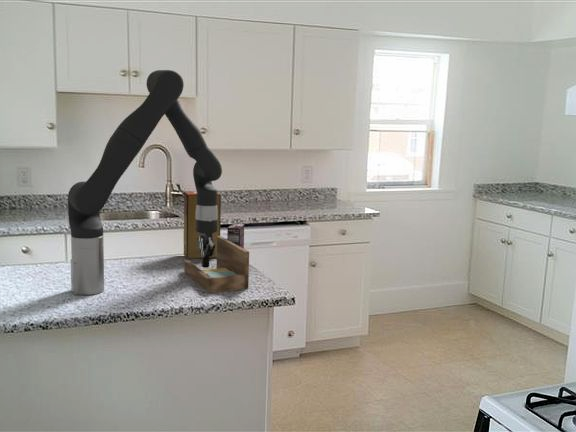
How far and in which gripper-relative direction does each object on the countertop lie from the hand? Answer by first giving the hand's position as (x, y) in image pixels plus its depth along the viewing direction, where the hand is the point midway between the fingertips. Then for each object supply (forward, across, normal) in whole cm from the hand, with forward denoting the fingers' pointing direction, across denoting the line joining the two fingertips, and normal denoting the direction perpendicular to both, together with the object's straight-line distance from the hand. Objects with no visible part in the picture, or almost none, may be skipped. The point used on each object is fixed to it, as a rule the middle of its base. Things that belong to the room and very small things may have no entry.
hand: (205, 267), depth 202 cm
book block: (+3, +15, +1) cm, 15 cm away
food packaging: (+2, -26, +7) cm, 27 cm away
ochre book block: (+3, +9, +1) cm, 9 cm away
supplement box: (+2, -3, +12) cm, 13 cm away
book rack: (+2, +8, +1) cm, 9 cm away
